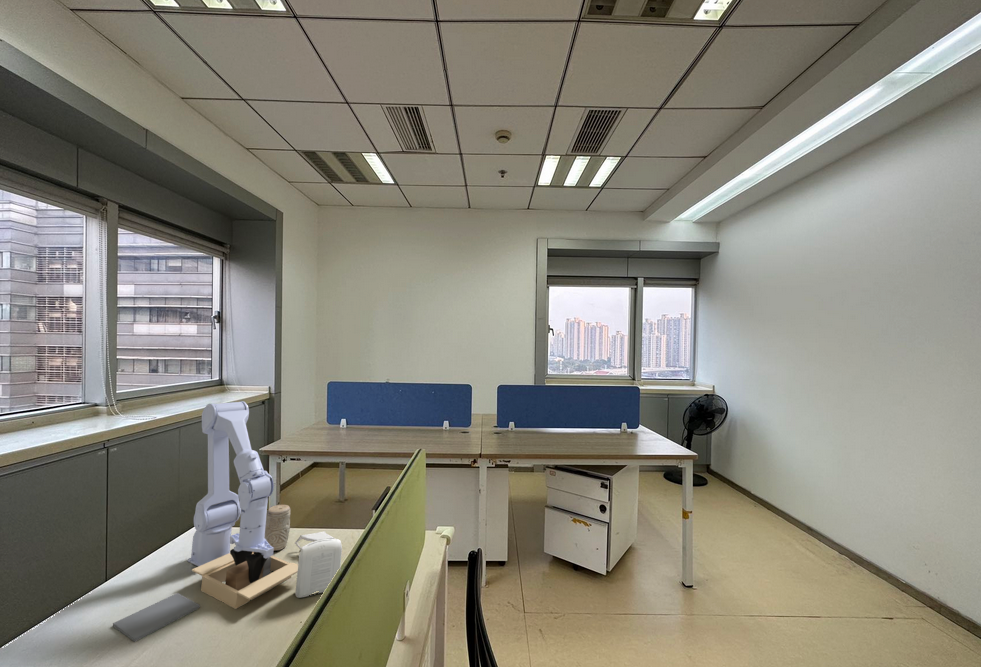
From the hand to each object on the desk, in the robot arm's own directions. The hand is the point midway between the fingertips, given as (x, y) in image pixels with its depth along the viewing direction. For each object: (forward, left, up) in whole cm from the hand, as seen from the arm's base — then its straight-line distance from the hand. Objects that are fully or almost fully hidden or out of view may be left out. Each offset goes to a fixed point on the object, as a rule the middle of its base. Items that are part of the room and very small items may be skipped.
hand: (248, 578), depth 99 cm
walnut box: (0, -1, -1) cm, 2 cm away
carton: (0, 0, -1) cm, 1 cm away
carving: (-10, +15, -2) cm, 18 cm away
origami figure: (+1, +20, -2) cm, 20 cm away
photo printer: (+17, +7, -2) cm, 18 cm away
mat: (-5, -17, -1) cm, 18 cm away
